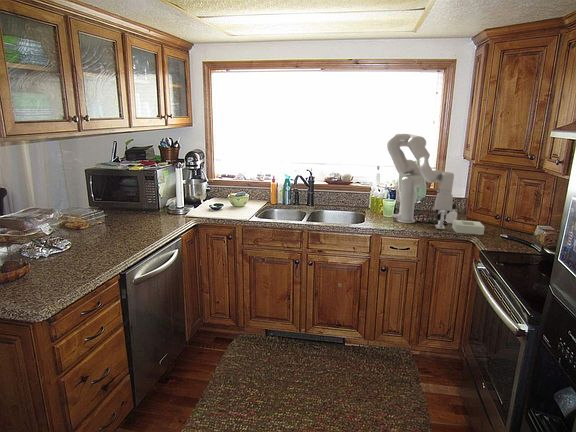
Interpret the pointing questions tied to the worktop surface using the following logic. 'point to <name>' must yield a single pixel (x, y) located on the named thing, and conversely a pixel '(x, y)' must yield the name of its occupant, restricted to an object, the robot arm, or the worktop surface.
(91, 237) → the worktop surface
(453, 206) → the container
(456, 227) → the well block
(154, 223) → the worktop surface
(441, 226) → the bracket
